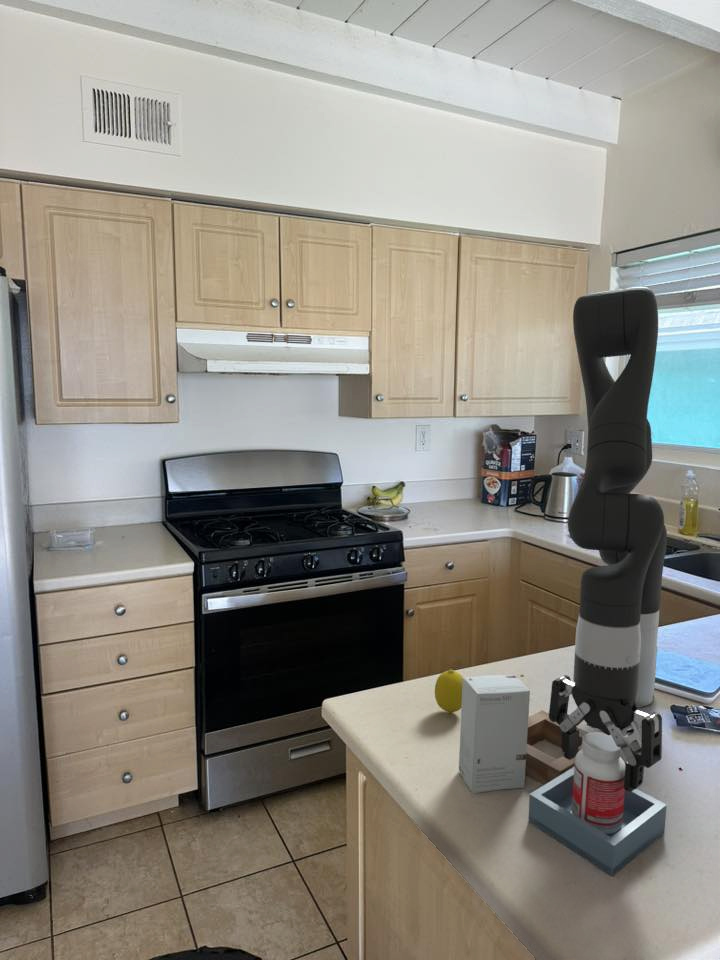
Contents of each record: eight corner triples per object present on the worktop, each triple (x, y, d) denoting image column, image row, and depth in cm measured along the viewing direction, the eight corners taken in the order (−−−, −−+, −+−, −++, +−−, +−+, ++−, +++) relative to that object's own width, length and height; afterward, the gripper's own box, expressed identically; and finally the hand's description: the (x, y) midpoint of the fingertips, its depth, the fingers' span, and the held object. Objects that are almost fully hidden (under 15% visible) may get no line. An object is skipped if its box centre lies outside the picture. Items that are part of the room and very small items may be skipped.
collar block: (541, 730, 108) (542, 710, 107) (607, 763, 98) (608, 742, 98) (492, 755, 100) (493, 734, 100) (558, 794, 91) (560, 771, 90)
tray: (581, 787, 93) (583, 761, 92) (664, 833, 83) (666, 804, 83) (528, 821, 85) (529, 794, 85) (612, 876, 76) (614, 845, 75)
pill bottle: (632, 825, 83) (638, 745, 81) (601, 843, 80) (607, 761, 78) (591, 798, 88) (596, 723, 87) (561, 815, 85) (566, 737, 83)
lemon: (430, 718, 111) (431, 673, 110) (439, 703, 116) (439, 661, 115) (462, 724, 109) (463, 679, 108) (469, 709, 114) (470, 666, 113)
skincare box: (471, 795, 91) (474, 695, 89) (457, 769, 97) (459, 675, 94) (527, 788, 92) (532, 689, 90) (510, 763, 98) (513, 670, 96)
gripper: (679, 663, 77) (669, 788, 80) (574, 627, 88) (568, 738, 91) (646, 681, 73) (636, 813, 75) (540, 641, 84) (535, 757, 86)
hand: (599, 772), depth 83 cm, fingers open, 8 cm apart
